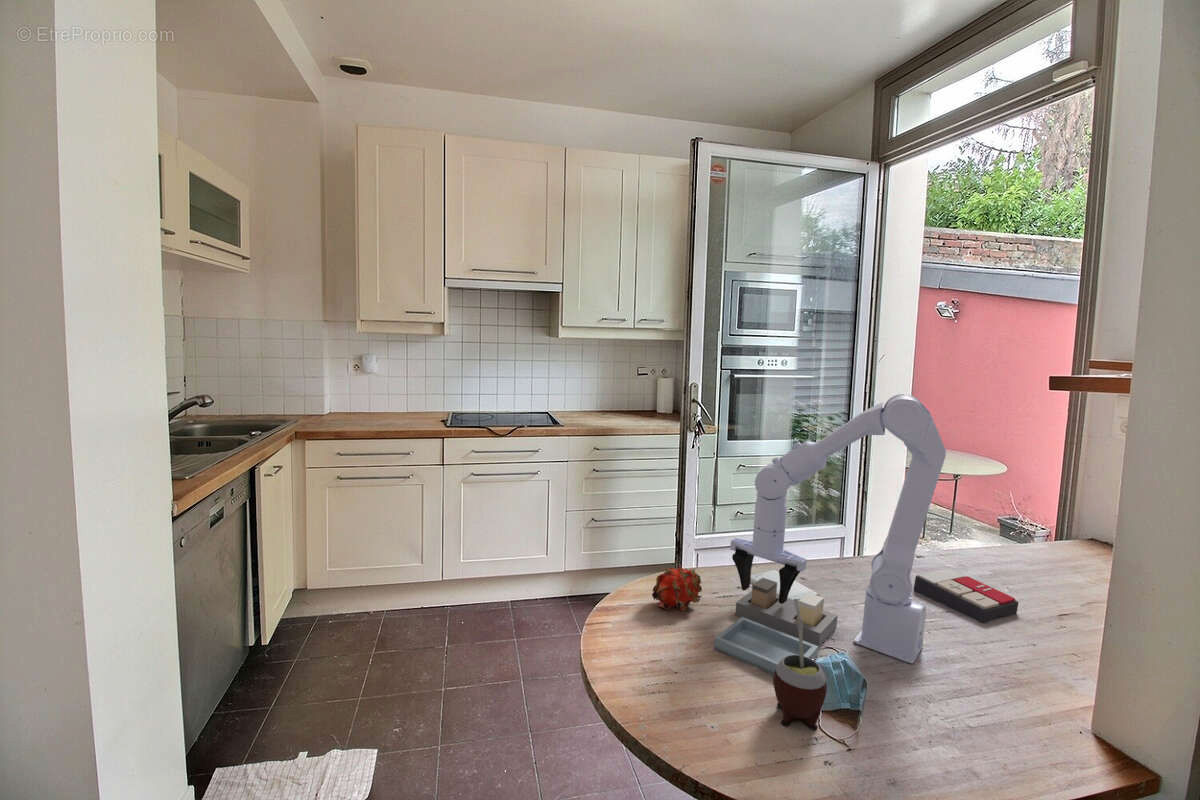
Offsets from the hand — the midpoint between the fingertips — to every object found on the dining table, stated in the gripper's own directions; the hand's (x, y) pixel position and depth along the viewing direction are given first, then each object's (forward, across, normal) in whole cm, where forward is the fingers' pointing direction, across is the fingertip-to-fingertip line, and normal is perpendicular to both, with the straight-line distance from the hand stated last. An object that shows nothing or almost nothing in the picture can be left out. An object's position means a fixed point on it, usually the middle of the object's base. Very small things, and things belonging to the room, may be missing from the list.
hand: (763, 594), depth 111 cm
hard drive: (+4, +2, -13) cm, 14 cm away
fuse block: (+4, -5, 0) cm, 6 cm away
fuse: (+4, -9, 0) cm, 10 cm away
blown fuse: (+4, 0, 0) cm, 4 cm away
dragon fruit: (+4, +13, +10) cm, 17 cm away
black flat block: (+4, -28, -35) cm, 45 cm away
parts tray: (+4, -7, +13) cm, 15 cm away
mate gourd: (+4, -17, +25) cm, 30 cm away
